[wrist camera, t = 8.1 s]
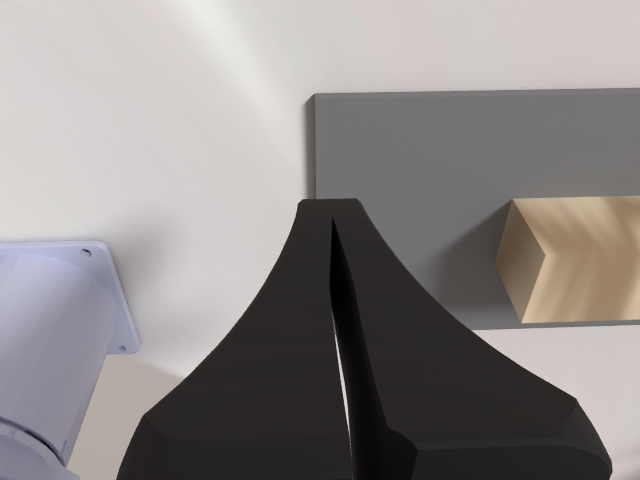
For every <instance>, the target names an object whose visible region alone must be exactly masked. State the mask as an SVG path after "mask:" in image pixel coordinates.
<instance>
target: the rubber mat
mask: <svg viewBox="0 0 640 480" xmlns="http://www.w3.org/2000/svg"><path fill="white" fill-rule="evenodd" d="M607 196H640V88H613V89H555V90H498V91H440V92H383V93H325V94H315V198H316V199H345V198H357V199H358V200H359V201H360V202H361V203H362V205H363V207H364V209H365V211H366V213H367V214H368V216H369V218H370V219H371V221H372V222H373V224H374V226H375V227H376V229H377V230H378V232H379V233H380V235H381V236H382V237H383V239H384V240H385V242H386V243H387V244H388V246H389V247H390V248H391V249H392V251H393V252H394V253H395V255H396V256H397V257H398V259H399V260H400V261H401V262H402V264H403V265H404V266H405V267H406V268H407V270H408V271H409V272H410V273H411V274H412V275H413V276H414V278H415V279H416V280H417V281H418V282H419V283H420V284H421V285H422V286H423V287H424V288H425V290H426V291H427V292H428V293H429V294H430V295H431V296H432V297H433V298H434V299H435V300H437V301H438V302H439V303H440V304H441V305H442V306H443V307H444V308H445V309H446V310H447V311H448V312H449V313H450V314H452V315H453V316H454V317H455V318H456V319H457V320H458V321H460V322H461V323H462V324H463V325H465V326H466V327H467V328H469V329H470V330H492V329H523V328H554V327H585V326H617V325H640V319H638V320H607V321H575V322H544V323H521V321H520V319H519V317H518V315H517V313H516V311H515V308H514V306H513V304H512V302H511V300H510V297H509V295H508V293H507V291H506V289H505V287H504V284H503V282H502V280H501V278H500V276H499V273H498V271H497V269H496V267H495V265H494V263H495V259H496V256H497V252H498V249H499V245H500V242H501V238H502V235H503V231H504V227H505V224H506V220H507V217H508V213H509V210H510V206H511V202H512V199H524V198H565V197H607ZM332 316H333V314H332ZM333 324H334V319H333ZM334 333H335V334H336V331H335V325H334Z"/></svg>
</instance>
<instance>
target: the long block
mask: <svg viewBox="0 0 640 480" xmlns="http://www.w3.org/2000/svg"><path fill="white" fill-rule="evenodd" d="M494 265H495V267H496V269H497V271H498V273H499V276H500V278H501V280H502V282H503V284H504V287H505V289H506V291H507V293H508V295H509V297H510V300H511V302H512V304H513V306H514V308H515V311H516V313H517V315H518V317H519V319H520V321H521V323H544V322H575V321H607V320H638V319H640V196H607V197H565V198H524V199H512V202H511V206H510V210H509V213H508V217H507V220H506V224H505V227H504V231H503V235H502V238H501V242H500V245H499V249H498V252H497V256H496V259H495V263H494Z"/></svg>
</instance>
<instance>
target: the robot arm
mask: <svg viewBox="0 0 640 480" xmlns="http://www.w3.org/2000/svg"><path fill="white" fill-rule="evenodd" d="M83 249H86V250H88V251H90V252H86V251H84V250H83ZM332 314H333V316H332ZM333 319H334V324H333ZM334 325H335V331H336V337H337V342H338V348H339V354H340V359H341V365H342V371H343V377H344V382H345V389H346V396H347V404H348V416H349V430H350V438H349V431H348V425H347V419H346V413H345V406H344V399H343V393H342V386H341V379H340V372H339V364H338V357H337V349H336V341H335V333H334ZM139 349H140V340H139V337H138V334H137V331H136V328H135V325H134V322H133V319H132V316H131V313H130V310H129V307H128V304H127V301H126V298H125V295H124V292H123V289H122V286H121V283H120V280H119V278H118V275H117V272H116V269H115V266H114V263H113V260H112V257H111V254H110V251H109V248H108V246H107V245H106V244H105V243H103V242H101V241H96V240H91V241H53V242H14V243H0V480H79V479H80V477H79V476H78V475H77V474H74V473H73V472H71V471H69V470H67V469H66V468H67V465H68V462H69V459H70V456H71V454H72V451H73V448H74V445H75V442H76V439H77V437H78V433H79V430H80V428H81V425H82V422H83V419H84V416H85V414H86V411H87V408H88V405H89V402H90V399H91V397H92V394H93V391H94V388H95V385H96V382H97V380H98V377H99V374H100V371H101V368H102V365H103V363H104V360H105V357H106V354H132V353H136V352H138V351H139ZM350 443H351V449H350ZM351 457H352V460H351ZM612 472H613V471H612V462H611V459H610V457H609V455H608V453H607V451H606V449H605V447H604V445H603V443H602V441H601V439H600V437H599V435H598V433H597V432H596V430H595V428H594V426H593V425H592V423H591V421H590V420H589V418H588V417H587V415H586V414H585V412H584V411H583V409H582V408H581V406H580V405H579V403H578V401H577V399H576V398H574V397H573V396H571V395H569V394H568V393H566V392H564V391H562V390H561V389H559V388H557V387H555V386H554V385H552V384H550V383H549V382H547V381H545V380H543V379H542V378H540V377H538V376H536V375H535V374H533V373H531V372H530V371H528V370H526V369H525V368H523V367H521V366H520V365H518V364H517V363H515V362H514V361H512V360H511V359H509V358H508V357H507V356H505V355H504V354H502V353H501V352H499V351H498V350H496V349H495V348H493V347H492V346H491V345H489V344H488V343H486V342H485V341H484V340H483V339H481V338H480V337H479V336H477V335H476V334H475V333H474V332H472V331H471V330H470V329H469V328H467V327H466V326H465V325H463V324H462V323H461V322H460V321H458V320H457V319H456V318H455V317H454V316H453V315H452V314H450V313H449V312H448V311H447V310H446V309H445V308H444V307H443V306H442V305H441V304H440V303H439V302H438V301H437V300H435V299H434V298H433V297H432V296H431V295H430V294H429V293H428V292H427V291H426V290H425V288H424V287H423V286H422V285H421V284H420V283H419V282H418V281H417V280H416V279H415V278H414V276H413V275H412V274H411V273H410V272H409V271H408V270H407V268H406V267H405V266H404V265H403V264H402V262H401V261H400V260H399V259H398V257H397V256H396V255H395V253H394V252H393V251H392V249H391V248H390V247H389V246H388V244H387V243H386V242H385V240H384V239H383V237H382V236H381V235H380V233H379V232H378V230H377V229H376V227H375V226H374V224H373V222H372V221H371V219H370V218H369V216H368V214H367V213H366V211H365V209H364V207H363V205H362V203H361V202H360V201H359V200H358V199H357V198H345V199H303V200H302V201H301V202H299V203H298V207H297V213H296V217H295V220H294V223H293V226H292V228H291V231H290V234H289V236H288V238H287V241H286V243H285V245H284V247H283V249H282V252H281V254H280V256H279V258H278V260H277V262H276V263H275V265H274V267H273V269H272V271H271V272H270V274H269V276H268V278H267V279H266V281H265V283H264V285H263V286H262V288H261V289H260V291H259V292H258V294H257V295H256V297H255V298H254V300H253V301H252V303H251V304H250V306H249V307H248V308H247V310H246V311H245V313H244V314H243V315H242V316H241V318H240V319H239V320H238V322H237V323H236V324H235V325H234V327H233V328H232V329H231V330H230V332H229V333H228V334H227V335H226V336H225V338H224V339H223V340H222V341H221V342H220V343H219V344H218V346H217V347H216V348H215V349H214V350H213V351H212V352H211V353H210V354H209V355H208V356H207V357H206V358H205V359H204V360H203V361H202V362H201V363H200V364H199V365H198V366H197V367H196V368H195V369H194V370H193V371H192V373H191V374H190V375H188V376H187V377H186V378H185V379H184V380H183V381H182V382H181V383H180V384H179V385H178V386H176V387H175V388H174V389H173V390H172V391H171V392H170V393H169V394H167V395H166V396H165V397H164V398H163V399H162V400H160V401H159V402H158V403H157V404H156V405H155V406H154V407H152V408H151V409H150V410H149V411H148V412H146V413H145V414H144V415H143V417H142V418H141V420H140V422H139V425H138V426H137V428H136V430H135V432H134V435H133V437H132V439H131V441H130V444H129V446H128V448H127V451H126V453H125V456H124V458H123V461H122V463H121V466H120V468H119V472H118V475H117V479H116V480H609V479H610V476H611V474H612Z"/></svg>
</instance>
